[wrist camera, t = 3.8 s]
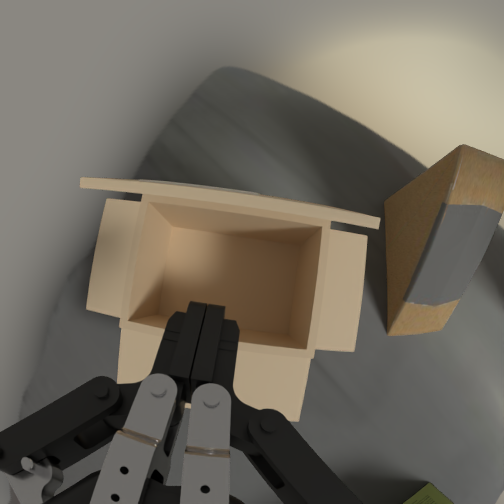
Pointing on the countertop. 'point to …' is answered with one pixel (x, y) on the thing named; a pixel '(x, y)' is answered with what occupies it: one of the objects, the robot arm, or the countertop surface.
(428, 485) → the protein box
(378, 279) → the countertop surface
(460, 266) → the sandwich container
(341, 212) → the flap
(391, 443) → the countertop surface
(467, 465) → the countertop surface
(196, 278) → the carton
